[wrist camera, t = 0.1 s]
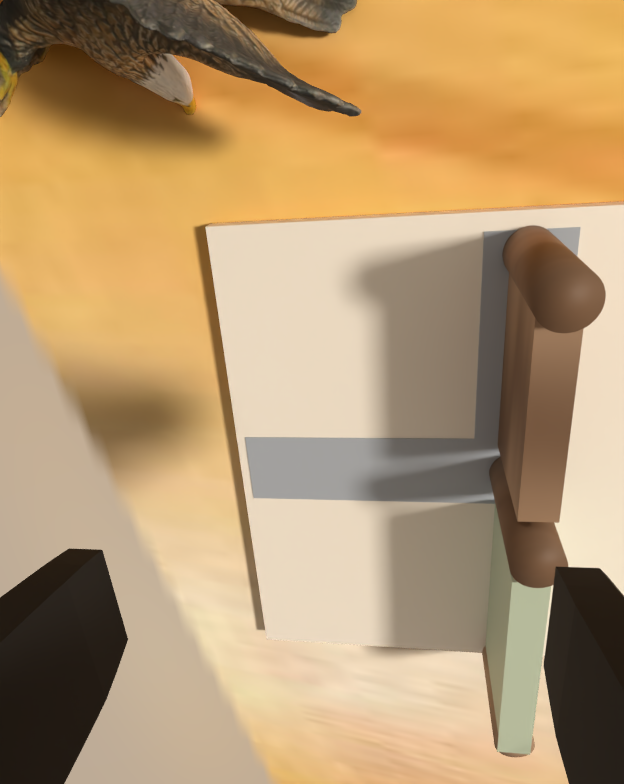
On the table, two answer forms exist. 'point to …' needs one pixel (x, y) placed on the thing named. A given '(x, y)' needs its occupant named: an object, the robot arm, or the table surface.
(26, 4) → the eagle figurine
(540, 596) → the fence panel
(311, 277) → the card
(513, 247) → the fence
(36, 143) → the table surface
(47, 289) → the table surface
